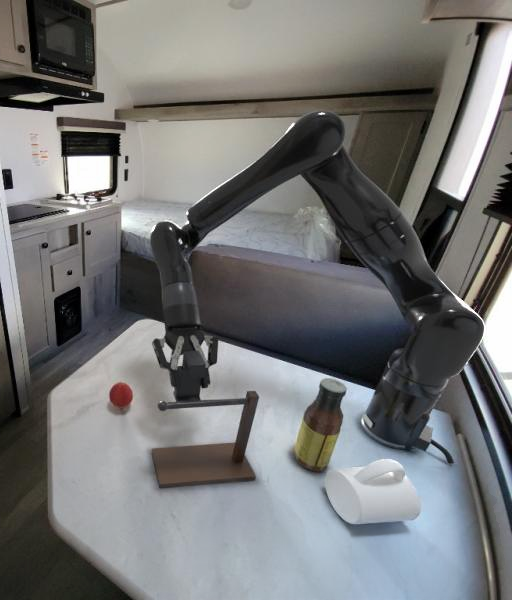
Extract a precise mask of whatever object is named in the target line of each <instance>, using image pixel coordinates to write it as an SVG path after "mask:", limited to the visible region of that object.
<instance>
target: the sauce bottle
mask: <svg viewBox="0 0 512 600" xmlns="http://www.w3.org/2000/svg"><path fill="white" fill-rule="evenodd" d="M318 388H319V390H318V393H317V395H316V397H315V399H314V400H313V402H311V403H310V404H309V405H308V406H307V407H306V409H305V411H304V413H303V416H302V420H301V423H300V427H299V429H298V434H297V438H296V441H295V444H294V453H293V454H294V457H295V459H296V461H297V462H298V463H299V464H300V465H301V466H302V467H304V468H306V469H308V470H310V471H312V472H313V471H314V472H321V471H324V470H326V469H327V467H328V464H329V463H330V461H331V458H332V456H333V453H334V450H335V448H336V444H337V441H338V439H339V436H340V433H341V430H342V429H341V427H342V425H343V421H344V413H343V411H342V407H341V405H342V402H343V397H345V396H346V394H347V389H348V388H347V386H346V385H345V384H344V383H343V382H341V381H340V380H337V379H335V378H331V377H326V378H322V379H321V380H320V382H319V385H318Z"/></svg>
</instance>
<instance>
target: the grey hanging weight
mask: <svg viewBox="0 0 512 600" xmlns="http://www.w3.org/2000/svg"><path fill="white" fill-rule="evenodd" d="M205 368H206V363H205V362H204V360H203V358H202V356H201V354H200V352H199V351H184V353H183V355H182V363H181V365H177V368H176V369H177V370H178V374H179V382H180V390H175V389H174V390H173V393H172V394H173V397H174V400H175V402H180V401H196V400H202V399H201V389H202V387H201V382H202V378H204V375H205Z"/></svg>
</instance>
